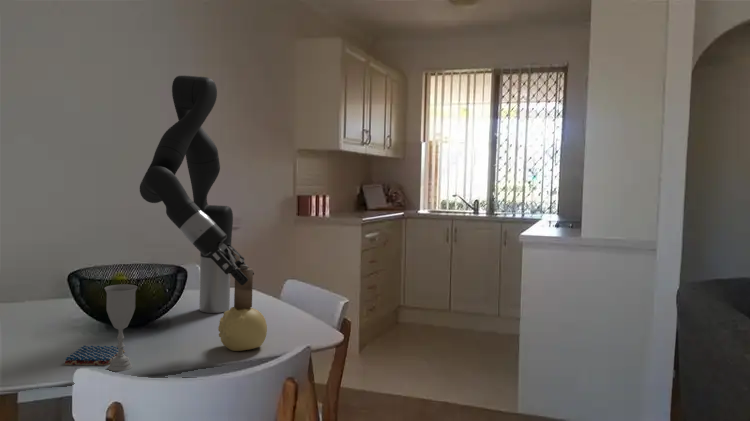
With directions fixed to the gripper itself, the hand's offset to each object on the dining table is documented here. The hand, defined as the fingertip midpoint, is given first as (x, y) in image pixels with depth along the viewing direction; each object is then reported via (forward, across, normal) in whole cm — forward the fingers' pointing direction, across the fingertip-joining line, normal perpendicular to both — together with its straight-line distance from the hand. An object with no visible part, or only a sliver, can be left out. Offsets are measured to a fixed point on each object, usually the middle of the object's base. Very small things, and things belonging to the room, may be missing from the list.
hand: (248, 279), depth 150 cm
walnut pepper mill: (+4, 0, +6) cm, 7 cm away
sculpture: (+12, 0, +13) cm, 18 cm away
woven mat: (-11, -11, +36) cm, 39 cm away
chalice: (-5, -17, +30) cm, 35 cm away
